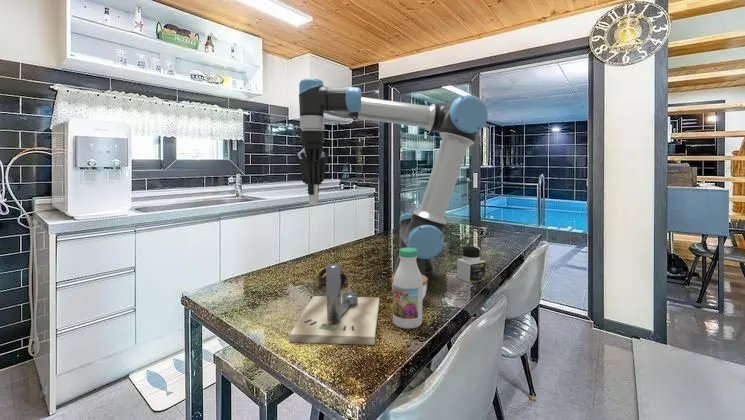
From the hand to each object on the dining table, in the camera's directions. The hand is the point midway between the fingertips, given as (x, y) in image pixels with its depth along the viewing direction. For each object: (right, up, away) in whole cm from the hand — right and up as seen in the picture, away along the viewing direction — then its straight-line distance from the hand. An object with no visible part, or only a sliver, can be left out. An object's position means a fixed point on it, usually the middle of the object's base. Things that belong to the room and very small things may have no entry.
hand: (313, 204), depth 116 cm
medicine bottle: (+55, -27, +13) cm, 62 cm away
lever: (+11, -29, -21) cm, 37 cm away
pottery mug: (+6, -28, +7) cm, 29 cm away
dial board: (+10, -31, -21) cm, 39 cm away
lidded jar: (+30, -30, -8) cm, 43 cm away
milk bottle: (+28, -32, -22) cm, 48 cm away
